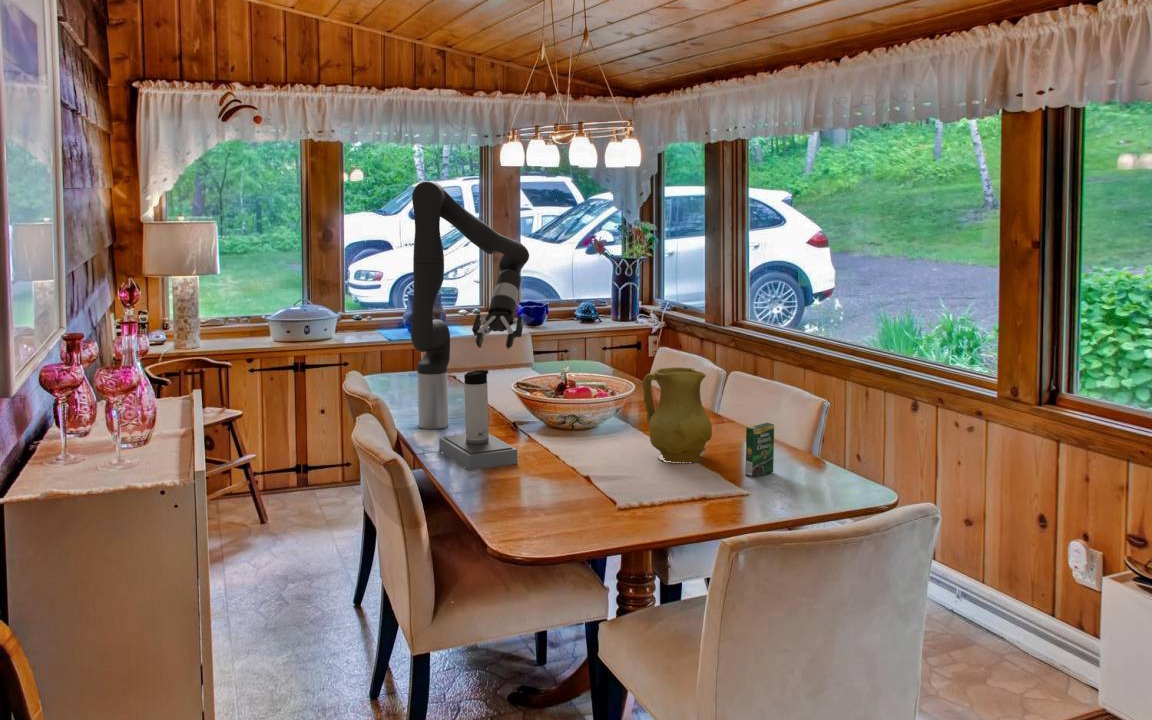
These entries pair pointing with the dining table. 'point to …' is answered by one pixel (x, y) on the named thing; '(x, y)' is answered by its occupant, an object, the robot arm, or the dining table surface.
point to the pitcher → (677, 414)
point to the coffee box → (759, 449)
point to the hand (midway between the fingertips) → (493, 346)
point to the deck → (478, 452)
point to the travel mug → (476, 407)
